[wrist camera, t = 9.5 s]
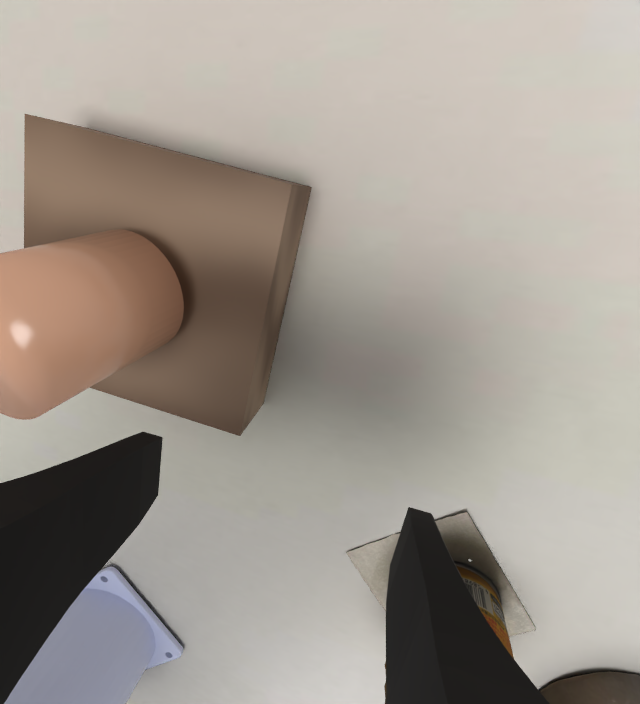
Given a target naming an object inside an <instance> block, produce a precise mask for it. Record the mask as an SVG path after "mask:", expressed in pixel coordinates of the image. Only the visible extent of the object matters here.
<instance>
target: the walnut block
mask: <svg viewBox="0 0 640 704" xmlns="http://www.w3.org/2000/svg"><path fill="white" fill-rule="evenodd" d="M311 188H312V187H309V186H305V185H301V184H297V183H293V182H290V181H286V180H282V179H278V178H274V177H271V176H267V175H263V174H259V173H255V172H252V171H248V170H244V169H240V168H236V167H233V166H229V165H225V164H221V163H218V162H214V161H210V160H206V159H202V158H199V157H195V156H191V155H187V154H183V153H180V152H176V151H172V150H168V149H164V148H161V147H157V146H153V145H149V144H145V143H142V142H138V141H134V140H130V139H126V138H123V137H119V136H115V135H111V134H108V133H104V132H100V131H96V130H92V129H89V128H85V127H80V126H76V125H71V124H67V123H63V122H58V121H54V120H50V119H45V118H41V117H36V116H32V115H28V114H25V170H24V248H28V247H33V246H38V245H43V244H47V243H52V242H57V241H62V240H66V239H71V238H76V237H81V236H85V235H90V234H95V233H100V232H104V231H109V230H116V229H121V230H128V231H132V232H134V233H137V234H139V235H141V236H143V237H144V238H146V239H147V240H149V241H150V242H151V243H153V244H154V245H155V246H156V247H157V248H158V249H159V250H160V251H161V252H162V253H163V254H164V256H165V257H166V258H167V260H168V261H169V262H170V264H171V266H172V268H173V269H174V271H175V273H176V275H177V278H178V280H179V283H180V286H181V290H182V294H183V302H184V312H183V319H182V323H181V326H180V328H179V330H178V332H177V334H176V335H175V336H174V337H173V338H172V339H171V340H170V341H169V342H168V343H166V344H164V345H162V346H161V347H159V348H157V349H156V350H154V351H152V352H150V353H149V354H147V355H145V356H143V357H142V358H140V359H138V360H136V361H135V362H133V363H131V364H129V365H128V366H126V367H124V368H122V369H121V370H119V371H117V372H115V373H114V374H112V375H110V376H108V377H107V378H105V379H103V380H101V381H100V382H98V383H96V384H94V385H93V386H91V387H90V388H93V389H96V390H99V391H102V392H105V393H108V394H112V395H115V396H118V397H121V398H124V399H127V400H130V401H133V402H136V403H139V404H142V405H146V406H149V407H152V408H155V409H158V410H161V411H164V412H167V413H170V414H173V415H177V416H180V417H183V418H186V419H189V420H192V421H195V422H198V423H201V424H204V425H207V426H211V427H214V428H217V429H220V430H223V431H226V432H229V433H232V434H235V435H238V436H240V435H241V434H242V433H243V431H244V430H245V428H246V427H247V426H248V424H249V423H250V421H251V420H252V419H253V417H254V416H255V414H256V413H257V412H258V410H259V409H260V408H261V406H262V405H263V403H264V399H265V395H266V390H267V386H268V381H269V377H270V372H271V368H272V363H273V359H274V354H275V350H276V345H277V341H278V336H279V332H280V327H281V323H282V318H283V314H284V309H285V305H286V300H287V296H288V291H289V287H290V282H291V278H292V273H293V269H294V264H295V260H296V255H297V251H298V246H299V242H300V237H301V233H302V228H303V224H304V219H305V215H306V210H307V206H308V201H309V197H310V192H311Z"/></svg>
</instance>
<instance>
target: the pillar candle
mask: <svg viewBox="0 0 640 704" xmlns="http://www.w3.org/2000/svg"><path fill="white" fill-rule="evenodd" d="M540 693H541V694H542V695H543V696H544V698H545V699H546V700H547V701H548V702H549V703H550V704H640V675H637V674H628V673H621V672H611V671H610V672H597V673H591V674H586V675H580V676H575V677H571V678H567V679H562V680H558V681H556V682H554V683H551V684H550V685H548V686H547V687H546V688H543V689H542V690H541V691H540Z"/></svg>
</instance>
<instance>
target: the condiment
mask: <svg viewBox="0 0 640 704" xmlns="http://www.w3.org/2000/svg"><path fill="white" fill-rule="evenodd" d="M435 522H436V524H437V527H438V529H439V531H440V534H441V536H442V538H443V540H444V542H445V544H446V547H447V549H448V551H449V553H450V555H451V557H452V559H453V561H454V563H455V565H456V567H457V569H458V571H459V573H460V575H461V577H462V579H463V580H464V582H465V584H466V586H467V588H468V590H469V591H470V593H471V595H472V597H473V598H474V600H475V602H476V603H477V605H478V607H479V609H480V610H481V612H482V614H483V615H484V617H485V618H486V620H487V622H488V623H489V625H490V626H491V628H492V629H493V631H494V632H495V633H496V635H497V636H498V638H499V639H500V641H501V642H502V644H503V645H504V646H505V648H506V649H507V651H508V652H509V653H510V655H511V656H512V657H513V653H512V649H511V644H510V640H509V637H510V636H513V635H518V634H522V633H526V632H530V631H533V630H536V628H535V627H534V625H533V623H532V621H531V620H530V618H529V616H528V614H527V613H526V611H525V609H524V607H523V606H522V604H521V602H520V601H519V599H518V597H517V595H516V594H515V592H514V590H513V588H512V587H511V585H510V584H509V582H508V580H507V578H506V577H505V575H504V574H503V572H502V570H501V568H500V567H499V566H498V564H497V562H496V561H495V559H494V557H493V555H492V553H491V552H490V550H489V548H488V547H487V545H486V543H485V541H484V539H483V538H482V536H481V535H480V533H479V532H478V530H477V529H476V527H475V525H474V523H473V522H472V520H471V518H470V516H469V515H468V513H467V512H465V513H461V514H458V515H455V516H453V517H452V516H450V517H446V518H443V519H440V520H437V521H435ZM399 536H400V533H398V534H392V535H391V536H389V537H387V538H385V539H382V540H379V541H377V542H373V543H370V544H366V545H365V546H363V547H360V548H357V549H355V550H352V551H349V552H346V553H347V555H348V556H349V557H350V559H351V561H352V563H353V564H354V566H355V567H356V568H357V569H358V571H359V573H360V574H361V576H362V578H363V580H364V581H365V582H366V583H367V585H368V586H369V588H370V589H371V591H372V593H373V594H374V595H375V597H376V598H377V600H378V601H379V602H380V604H381V605H382V606H383V608H384V609H385V611H386V597H387V587H388V578H389V570H390V563H391V560H392V557H393V554H394V551H395V548H396V545H397V542H398V539H399ZM468 559H471V560H473V561H471V562H469V561H468ZM513 659H514V657H513ZM385 669H386V663H385ZM385 697H386V683H385ZM385 704H386V699H385Z"/></svg>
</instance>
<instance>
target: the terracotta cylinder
mask: <svg viewBox="0 0 640 704" xmlns="http://www.w3.org/2000/svg"><path fill="white" fill-rule="evenodd" d="M183 312H184V302H183V294H182V290H181V286H180V283H179V280H178V278H177V275H176V273H175V271H174V269H173V268H172V266H171V264H170V262H169V261H168V260H167V258H166V257H165V256H164V254H163V253H162V252H161V251H160V250H159V249H158V248H157V247H156V246H155V245H154V244H153V243H151V242H150V241H149V240H147V239H146V238H144V237H143V236H141V235H139V234H137V233H134V232H132V231H128V230H121V229H116V230H109V231H104V232H100V233H95V234H90V235H85V236H81V237H76V238H71V239H66V240H62V241H57V242H52V243H47V244H43V245H38V246H33V247H28V248H24V249H19V250H14V251H9V252H5V253H0V413H2V414H4V415H7V416H9V417H12V418H16V419H23V420H24V419H33V418H36V417H38V416H40V415H42V414H44V413H46V412H47V411H49V410H51V409H53V408H54V407H56V406H58V405H60V404H61V403H63V402H65V401H67V400H68V399H70V398H72V397H74V396H75V395H77V394H79V393H80V392H82V391H84V390H86V389H87V388H89V387H91V386H93V385H94V384H96V383H98V382H100V381H101V380H103V379H105V378H107V377H108V376H110V375H112V374H114V373H115V372H117V371H119V370H121V369H122V368H124V367H126V366H128V365H129V364H131V363H133V362H135V361H136V360H138V359H140V358H142V357H143V356H145V355H147V354H149V353H150V352H152V351H154V350H156V349H157V348H159V347H161V346H162V345H164V344H166V343H168V342H169V341H170V340H171V339H172V338H173V337H174V336H175V335H176V334H177V332H178V330H179V328H180V326H181V323H182V319H183Z"/></svg>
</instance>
